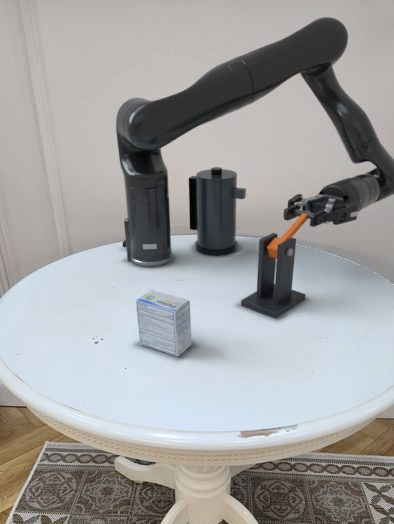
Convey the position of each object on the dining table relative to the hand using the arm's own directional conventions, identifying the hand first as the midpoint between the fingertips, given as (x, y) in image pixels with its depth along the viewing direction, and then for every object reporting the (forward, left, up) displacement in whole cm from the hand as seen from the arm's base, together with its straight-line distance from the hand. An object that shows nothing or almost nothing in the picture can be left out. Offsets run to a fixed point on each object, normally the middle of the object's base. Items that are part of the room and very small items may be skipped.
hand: (298, 218), depth 98 cm
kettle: (-23, +16, -15) cm, 32 cm away
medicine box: (-14, -28, -15) cm, 35 cm away
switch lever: (-1, -2, -3) cm, 4 cm away
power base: (-2, -6, -15) cm, 16 cm away
